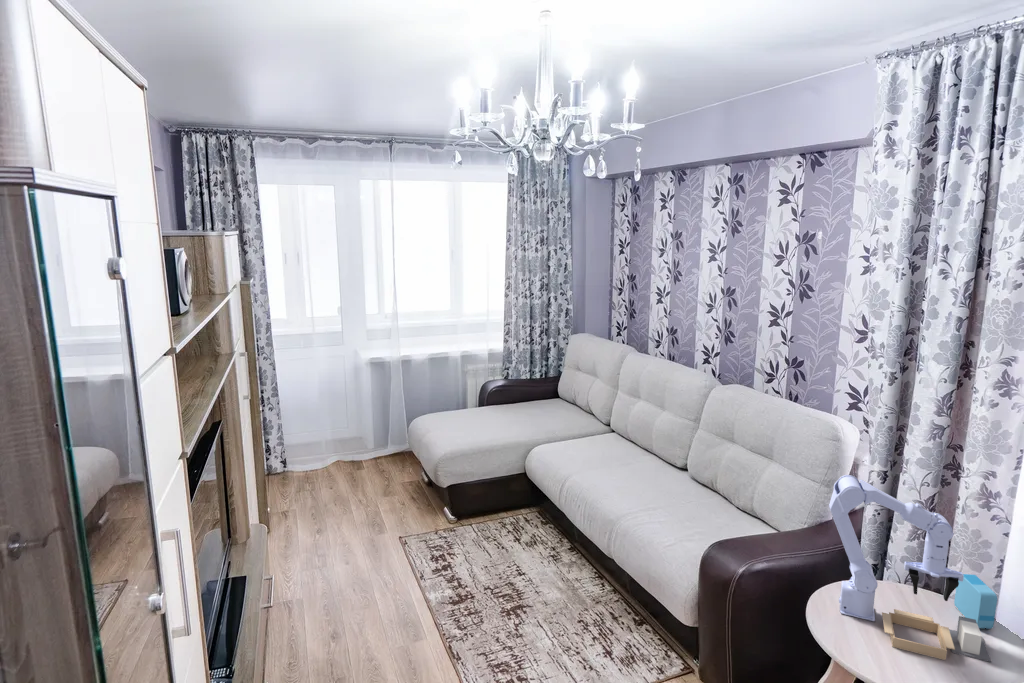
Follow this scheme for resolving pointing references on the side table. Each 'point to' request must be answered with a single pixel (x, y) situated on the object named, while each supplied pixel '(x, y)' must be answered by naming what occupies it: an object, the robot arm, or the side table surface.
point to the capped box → (969, 635)
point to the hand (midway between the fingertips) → (930, 595)
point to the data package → (976, 601)
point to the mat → (982, 655)
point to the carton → (918, 623)
